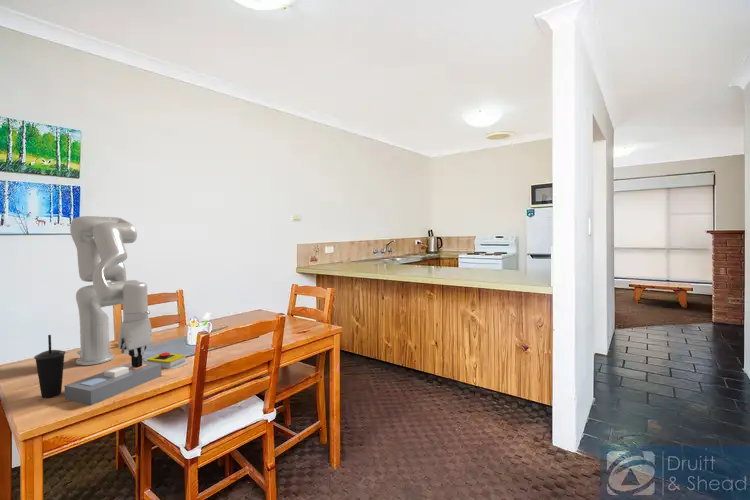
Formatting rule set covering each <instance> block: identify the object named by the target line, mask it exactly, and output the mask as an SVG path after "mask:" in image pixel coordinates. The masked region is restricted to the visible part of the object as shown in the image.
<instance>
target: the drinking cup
mask: <svg viewBox="0 0 750 500" xmlns="http://www.w3.org/2000/svg"><path fill="white" fill-rule="evenodd" d="M47 336H48V349H47V350H45V351H42V352H40V353H38V354H36V355H34V357H33V358H34V360H35V365H36V372H37V376H38V382H39V383H38V384H39V389H40V395H41V396H40V397H41V398H42V399H51V398H55V397H58V396H61V394H62V389H63V376H64V375H63V374H64V367H65V365H64V364H65V355H66V352H67V351H65V350H60V349H52V335H51V334H48V335H47Z"/></svg>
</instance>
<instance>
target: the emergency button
mask: <svg viewBox="0 0 750 500" xmlns="http://www.w3.org/2000/svg"><path fill="white" fill-rule="evenodd" d="M146 362H152V363H158V364H161V369H167V370H168V369H169V370H175V369H177V368H179V367H181V366H184V365H185V364H188V363H189V362H190V360H187V359H186V356H185V354H184V353H183V354H181V353H171V352H161V353H158V354H156V355H154V356H153V355H152V356H151V357H148V358H147V359H146Z"/></svg>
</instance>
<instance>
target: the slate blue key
mask: <svg viewBox="0 0 750 500" xmlns="http://www.w3.org/2000/svg"><path fill="white" fill-rule="evenodd" d="M105 381H107V380H106V379H100V378H95V379H92V380H89V381H86V382H83V383H81V385H85V386H90V387H92V386H94V385H97V384H100V383H102V382H105Z"/></svg>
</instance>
